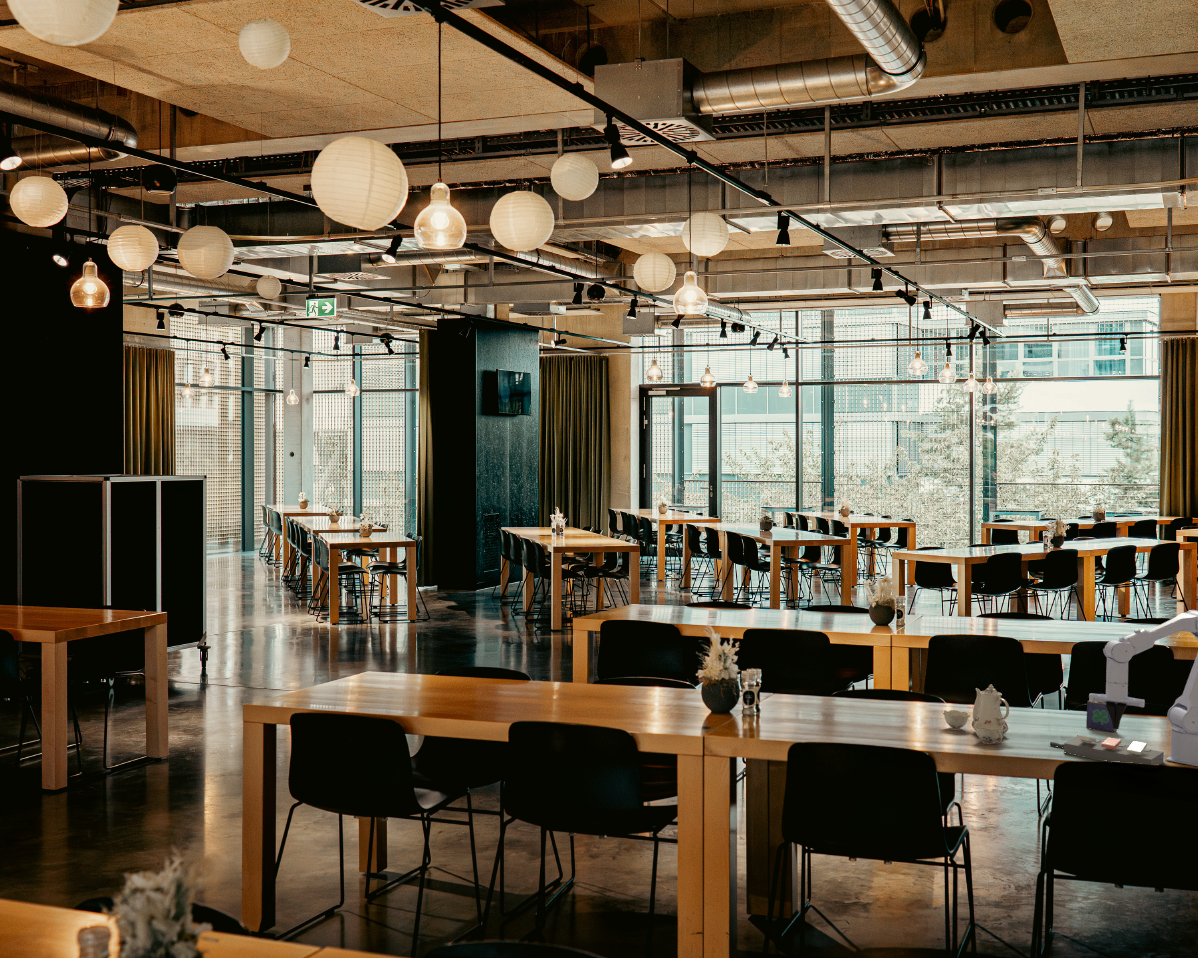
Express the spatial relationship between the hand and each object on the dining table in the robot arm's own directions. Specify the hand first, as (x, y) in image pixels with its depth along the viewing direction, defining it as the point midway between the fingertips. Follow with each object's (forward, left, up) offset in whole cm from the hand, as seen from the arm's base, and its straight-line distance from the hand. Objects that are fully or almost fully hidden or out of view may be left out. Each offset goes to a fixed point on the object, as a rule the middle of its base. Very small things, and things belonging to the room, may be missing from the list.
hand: (1115, 728), depth 316 cm
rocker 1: (+8, +2, -5) cm, 10 cm away
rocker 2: (-6, +1, -5) cm, 8 cm away
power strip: (+4, -1, -9) cm, 10 cm away
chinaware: (+39, +3, -9) cm, 40 cm away
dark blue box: (+15, -35, -9) cm, 39 cm away
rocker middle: (+1, +1, -5) cm, 6 cm away
